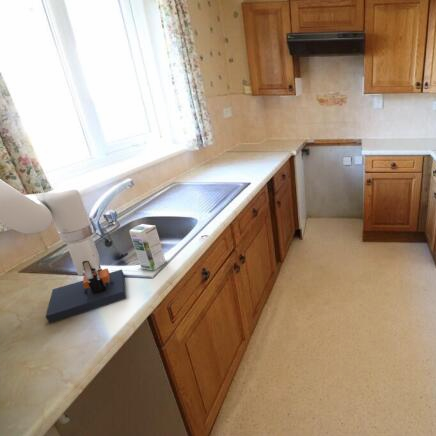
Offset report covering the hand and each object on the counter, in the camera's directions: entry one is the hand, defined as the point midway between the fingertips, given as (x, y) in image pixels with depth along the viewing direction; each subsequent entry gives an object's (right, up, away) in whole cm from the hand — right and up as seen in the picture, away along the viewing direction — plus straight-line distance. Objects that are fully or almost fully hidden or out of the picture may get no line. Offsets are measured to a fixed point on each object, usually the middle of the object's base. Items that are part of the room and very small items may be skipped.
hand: (99, 286), depth 96 cm
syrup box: (+8, +4, +14) cm, 17 cm away
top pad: (0, -1, 0) cm, 1 cm away
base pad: (-3, -3, 0) cm, 4 cm away
